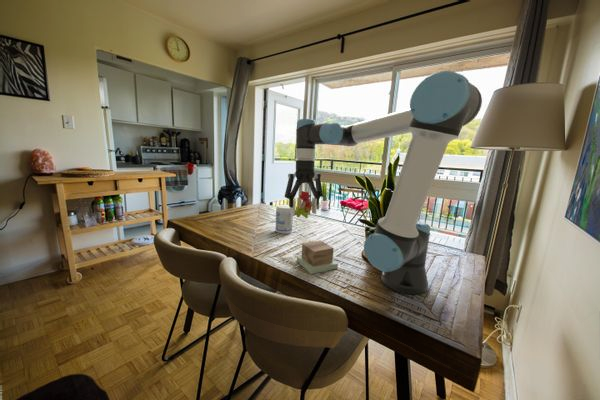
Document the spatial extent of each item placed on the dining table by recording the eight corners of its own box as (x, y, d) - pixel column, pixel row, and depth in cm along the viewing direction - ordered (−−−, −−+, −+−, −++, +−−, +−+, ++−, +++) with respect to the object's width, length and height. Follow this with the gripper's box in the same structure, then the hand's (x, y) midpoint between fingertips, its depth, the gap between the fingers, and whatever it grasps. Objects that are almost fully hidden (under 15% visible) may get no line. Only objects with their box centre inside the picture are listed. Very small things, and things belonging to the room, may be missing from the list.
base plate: (337, 268, 95) (337, 263, 95) (310, 273, 90) (310, 268, 90) (321, 256, 106) (322, 252, 106) (297, 260, 101) (297, 256, 100)
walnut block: (332, 262, 96) (333, 247, 95) (313, 266, 92) (314, 251, 91) (319, 253, 104) (320, 240, 103) (301, 257, 99) (302, 243, 98)
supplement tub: (272, 232, 135) (272, 206, 132) (279, 228, 143) (280, 203, 140) (288, 235, 131) (289, 208, 128) (295, 230, 140) (295, 205, 137)
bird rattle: (300, 219, 106) (289, 214, 98) (305, 194, 108) (296, 188, 100) (312, 221, 103) (303, 217, 95) (318, 196, 104) (309, 190, 97)
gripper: (323, 159, 105) (321, 210, 109) (276, 159, 96) (275, 214, 100) (333, 160, 99) (330, 214, 103) (283, 159, 89) (282, 218, 94)
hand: (303, 214), depth 101 cm, fingers closed on bird rattle, 9 cm apart
